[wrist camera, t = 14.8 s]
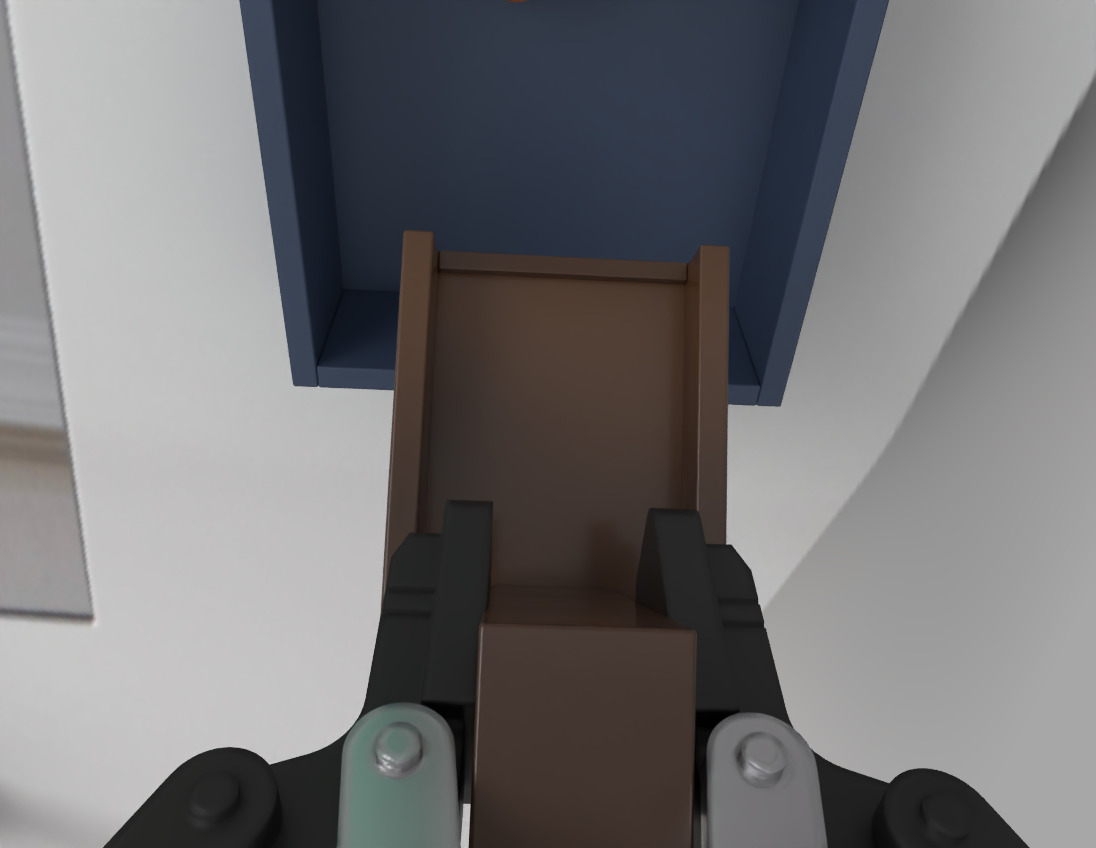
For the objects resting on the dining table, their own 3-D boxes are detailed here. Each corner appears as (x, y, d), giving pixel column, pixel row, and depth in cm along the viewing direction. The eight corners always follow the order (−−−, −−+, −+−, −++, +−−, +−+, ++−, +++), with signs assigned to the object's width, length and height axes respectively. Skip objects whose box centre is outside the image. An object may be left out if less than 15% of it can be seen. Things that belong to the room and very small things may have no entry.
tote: (861, -188, 24) (935, -170, 20) (748, 317, 33) (780, 407, 29) (270, -229, 23) (207, -220, 19) (326, 298, 33) (292, 386, 28)
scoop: (414, 262, 19) (335, 27, 11) (706, 276, 20) (870, 59, 11) (388, 713, 18) (273, 880, 9) (699, 722, 19) (879, 894, 10)
